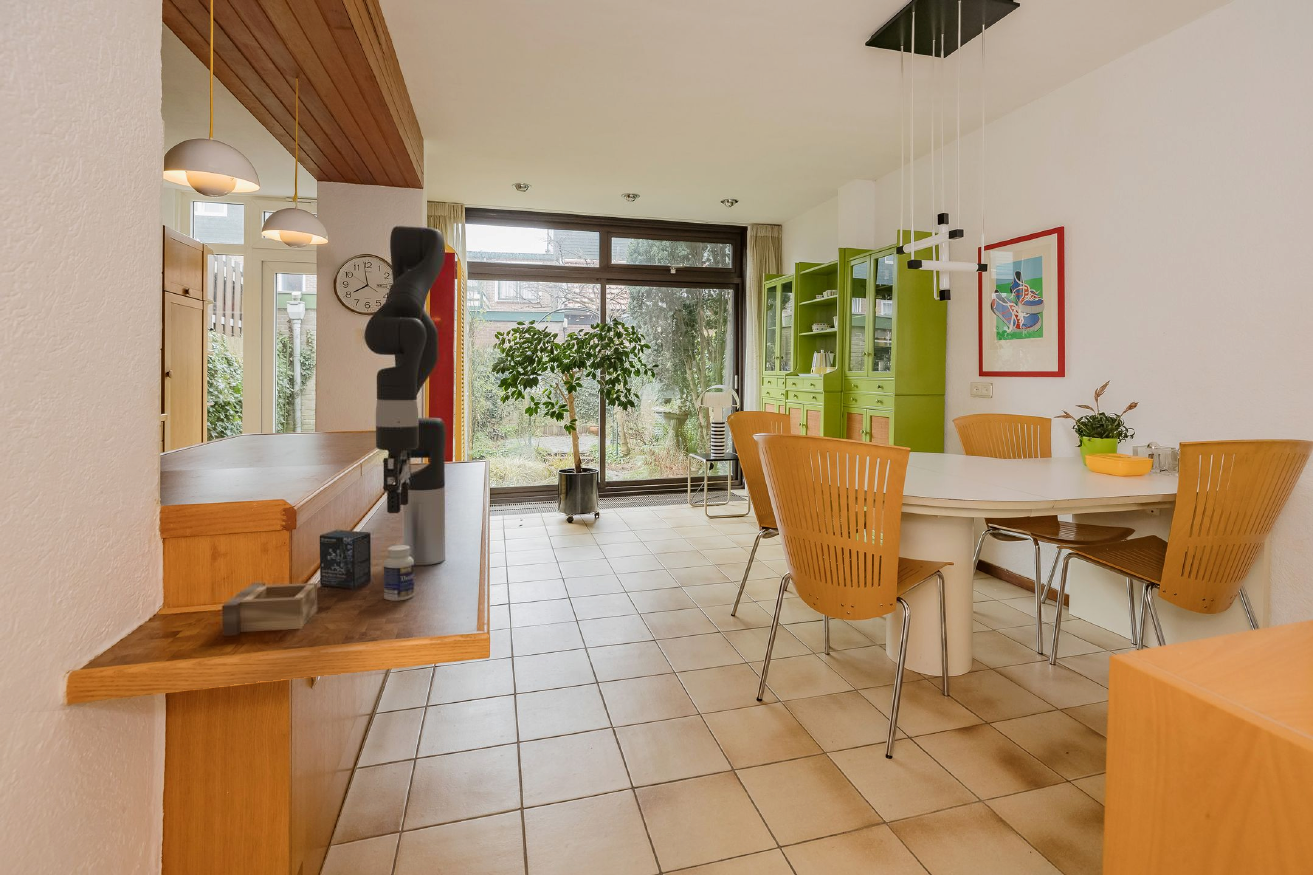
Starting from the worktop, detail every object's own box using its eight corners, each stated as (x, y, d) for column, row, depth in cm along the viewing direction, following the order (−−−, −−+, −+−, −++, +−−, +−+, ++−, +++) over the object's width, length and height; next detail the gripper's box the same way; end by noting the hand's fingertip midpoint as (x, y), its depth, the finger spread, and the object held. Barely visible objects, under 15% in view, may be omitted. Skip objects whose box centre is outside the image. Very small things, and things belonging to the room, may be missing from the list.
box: (319, 586, 130) (318, 534, 129) (339, 578, 135) (338, 528, 134) (353, 590, 128) (352, 537, 127) (372, 581, 134) (371, 531, 133)
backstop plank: (253, 610, 116) (252, 583, 115) (265, 609, 116) (264, 582, 116) (223, 635, 104) (222, 605, 103) (236, 635, 104) (235, 605, 104)
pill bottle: (403, 602, 121) (403, 551, 120) (378, 600, 122) (377, 549, 122) (419, 593, 126) (419, 545, 126) (395, 591, 128) (394, 543, 127)
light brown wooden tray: (262, 612, 114) (261, 585, 114) (317, 610, 116) (316, 583, 116) (240, 631, 106) (239, 602, 105) (300, 628, 108) (300, 599, 107)
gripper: (412, 426, 116) (413, 515, 117) (423, 422, 130) (424, 501, 131) (367, 426, 114) (368, 516, 115) (384, 421, 128) (385, 502, 129)
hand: (398, 508), depth 123 cm, fingers open, 8 cm apart
